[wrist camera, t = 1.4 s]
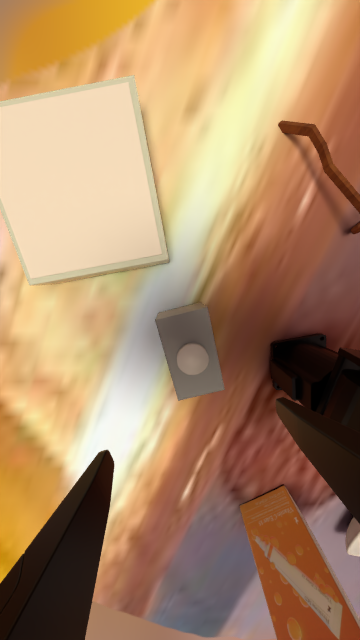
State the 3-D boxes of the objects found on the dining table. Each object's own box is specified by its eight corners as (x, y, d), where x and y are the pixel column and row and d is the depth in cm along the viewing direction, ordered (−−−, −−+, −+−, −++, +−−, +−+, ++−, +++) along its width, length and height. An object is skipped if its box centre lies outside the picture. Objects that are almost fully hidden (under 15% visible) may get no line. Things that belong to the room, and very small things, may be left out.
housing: (200, 301, 19) (209, 308, 15) (215, 369, 21) (227, 394, 17) (159, 312, 20) (154, 322, 15) (177, 378, 22) (178, 406, 17)
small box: (283, 483, 26) (387, 674, 13) (298, 507, 27) (406, 701, 15) (237, 504, 27) (294, 705, 14) (254, 527, 28) (320, 729, 15)
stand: (141, 112, 15) (133, 71, 12) (169, 262, 18) (168, 258, 15) (-1, 139, 15) (-42, 106, 12) (51, 284, 18) (27, 285, 15)
